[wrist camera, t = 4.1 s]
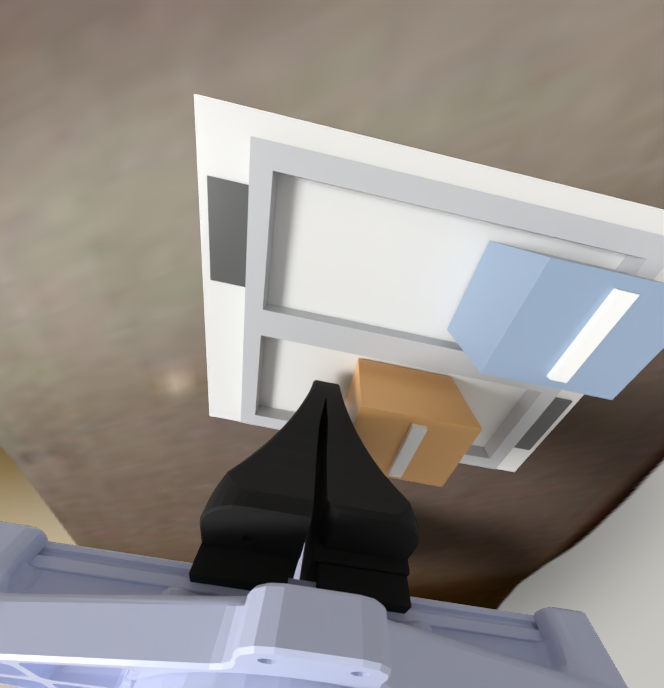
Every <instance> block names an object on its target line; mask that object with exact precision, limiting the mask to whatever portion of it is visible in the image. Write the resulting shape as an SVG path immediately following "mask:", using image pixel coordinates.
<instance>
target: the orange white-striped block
mask: <svg viewBox="0 0 664 688" xmlns="http://www.w3.org/2000/svg"><path fill="white" fill-rule="evenodd" d="M345 406H346V409H347V411H348V414H349V416H350V419H351V421H352V423H353V425H354V427H355V429H356V431H357V433H358V435H359V437H360V439H361V441H362V442H363V444H364V446H365V447H366V449H367V451H368V452H369V454H370V455H371V457H372V458H373V460H374V461H375V462H376V464H377V465H378V466H379V468H380V469H381V471H382V472H383V473H384V475H385V476H386V477H389V478H395V479H400V480H406V481H412V482H417V483H423V484H428V485H434V486H440V487H442V486H443V485H444V483H445V482H446V480H447V479H448V478H449V476H450V475H451V473H452V472H453V470H454V469H455V468H456V466H457V465H458V463H459V462H460V460H461V459H462V458H463V456H464V455H465V453H466V452H467V451H468V449H469V448H470V446H471V445H472V443H473V442H474V441H475V439H476V438H477V436H478V435H479V433H480V432H481V431H482V428H481V426H480V424H479V422H478V421H477V419H476V417H475V416H474V414H473V412H472V411H471V409H470V407H469V406H468V404H467V402H466V401H465V399H464V397H463V395H462V394H461V392H460V390H459V389H458V387H457V385H456V384H455V382H454V380H453V379H452V377H449V376H444V375H439V374H434V373H429V372H424V371H419V370H414V369H409V368H404V367H399V366H394V365H389V364H384V363H379V362H374V361H370V360H365V359H360V358H358V360H357V364H356V367H355V370H354V374H353V377H352V380H351V384H350V387H349V390H348V394H347V397H346V400H345Z"/></svg>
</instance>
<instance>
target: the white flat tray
mask: <svg viewBox="0 0 664 688" xmlns="http://www.w3.org/2000/svg"><path fill="white" fill-rule="evenodd" d="M194 106H195V127H196V147H197V168H198V188H199V209H200V229H201V250H202V270H203V291H204V312H205V332H206V353H207V373H208V394H209V414H210V416H214V417H219V418H225V419H230V420H235V421H241V423H247V424H252V425H258V426H263V427H268V428H274V429H279V430H280V429H281V428H282V427H283V426H284V425H285V424H286V423H287V422H288V421H289V420H290V418H291V417H292V416H293V415H294V413H295V412H296V411H297V409H298V408H299V407H300V405H301V404H302V402H303V401H304V399H305V398H306V396H307V395H308V393H309V391H310V389H311V387H312V384H313V381H315V380H319V381H324V382H329V383H335V384H338V385H339V386H340V390H341V394H342V397H343V400H344V403H345V400H346V397H347V394H348V390H349V387H350V384H351V380H352V377H353V374H354V370H355V367H356V364H357V360H358V358H360V359H365V360H370V361H374V362H379V363H384V364H389V365H394V366H399V367H404V368H409V369H414V370H419V371H424V372H429V373H434V374H439V375H444V376H449V377H452V379H453V380H454V382H455V384H456V385H457V387H458V389H459V390H460V392H461V394H462V395H463V397H464V399H465V401H466V402H467V404H468V406H469V407H470V409H471V411H472V412H473V414H474V416H475V417H476V419H477V421H478V422H479V424H480V426H481V428H482V431H481V432H480V433H479V435H478V436H477V438H476V439H475V441H474V442H473V443H472V445H471V446H470V448H469V449H468V451H467V452H466V453H465V455H464V456H463V458H462V459H461V460H460V462H459V463H464V464H469V465H474V466H480V467H485V468H491V469H501V470H506V471H512V472H515V471H516V470H517V469H518V468H519V466H520V465H521V464H522V463H523V462H524V461H525V460H526V459H527V458H528V456H529V455H530V454H531V453H532V452H533V451H534V450H535V449H536V448H537V446H538V445H539V444H540V443H541V442H542V441H543V440H544V439H545V438H546V436H547V435H548V434H549V433H550V432H551V431H552V430H553V429H554V427H555V426H556V425H557V424H558V423H559V422H560V421H561V420H562V419H563V417H564V416H565V415H566V414H567V413H568V412H569V411H570V410H571V409H572V407H573V406H574V405H575V404H576V403H577V402H578V401H579V400H580V399H581V397H582V396H583V395H584V394H580V393H575V392H570V391H565V390H561V389H556V388H551V387H546V386H541V385H536V384H531V383H526V382H521V381H516V380H512V379H507V378H502V377H497V376H492V375H487V374H482V373H480V372H479V370H478V369H477V368H476V366H475V365H474V364H473V363H472V361H471V360H470V359H469V357H468V356H467V355H466V354H465V352H464V351H463V350H462V348H461V347H460V346H459V345H458V343H457V342H456V341H455V339H454V338H453V337H452V336H451V334H450V333H449V332H448V330H447V329H448V326H449V324H450V322H451V320H452V318H453V316H454V314H455V312H456V310H457V308H458V305H459V303H460V301H461V299H462V297H463V295H464V293H465V291H466V289H467V286H468V284H469V282H470V280H471V278H472V276H473V274H474V272H475V270H476V268H477V265H478V263H479V261H480V259H481V257H482V255H483V253H484V251H485V249H486V246H487V244H488V242H489V241H493V242H497V243H501V244H506V245H510V246H514V247H518V248H523V249H527V250H531V251H536V252H540V253H544V254H549V255H553V256H557V257H562V258H566V259H570V260H575V261H579V262H583V263H587V264H592V265H596V266H600V267H605V268H609V269H613V270H617V271H621V272H625V273H628V274H632V275H636V276H640V277H644V278H648V279H652V280H656V281H660V282H664V210H663V209H659V208H655V207H651V206H647V205H643V204H639V203H635V202H631V201H627V200H622V199H618V198H614V197H610V196H606V195H602V194H598V193H594V192H590V191H586V190H582V189H578V188H574V187H570V186H566V185H562V184H558V183H554V182H550V181H546V180H542V179H538V178H533V177H529V176H525V175H521V174H517V173H513V172H509V171H505V170H501V169H497V168H493V167H489V166H485V165H481V164H477V163H473V162H469V161H465V160H461V159H457V158H453V157H449V156H444V155H440V154H436V153H432V152H428V151H424V150H420V149H416V148H412V147H408V146H404V145H400V144H396V143H392V142H388V141H384V140H380V139H376V138H372V137H368V136H364V135H360V134H355V133H351V132H347V131H343V130H339V129H335V128H331V127H327V126H323V125H319V124H315V123H311V122H307V121H303V120H299V119H295V118H291V117H287V116H283V115H279V114H275V113H271V112H266V111H262V110H258V109H254V108H250V107H246V106H242V105H238V104H234V103H230V102H226V101H222V100H218V99H214V98H210V97H206V96H202V95H198V94H194Z"/></svg>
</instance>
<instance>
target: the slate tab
mask: <svg viewBox="0 0 664 688" xmlns="http://www.w3.org/2000/svg"><path fill="white" fill-rule="evenodd" d="M447 330H448V332H449V333H450V334H451V336H452V337H453V338H454V339H455V341H456V342H457V343H458V345H459V346H460V347H461V348H462V350H463V351H464V352H465V354H466V355H467V356H468V357H469V359H470V360H471V361H472V363H473V364H474V365H475V366H476V368H477V369H478V370H479V372H480V373H482V374H487V375H492V376H497V377H502V378H507V379H512V380H516V381H521V382H526V383H531V384H536V385H541V386H546V387H551V388H556V389H561V390H565V391H570V392H575V393H580V394H585V395H590V396H595V397H600V398H605V399H610V400H613V399H614V398H615V397H616V396H617V395H618V394H619V393H620V392H621V391H622V390H623V388H624V387H625V386H626V385H627V384H628V383H629V382H630V381H631V380H632V379H633V378H634V377H635V376H636V375H637V374H638V373H639V372H640V371H641V370H642V369H643V368H644V367H645V366H646V365H647V364H648V363H649V362H650V361H651V360H652V359H653V358H654V357H655V356H656V355H657V354H658V353H659V352H660V351H661V350H662V349H663V348H664V282H660V281H656V280H652V279H648V278H644V277H640V276H636V275H632V274H628V273H625V272H621V271H617V270H613V269H609V268H605V267H600V266H596V265H592V264H587V263H583V262H579V261H575V260H570V259H566V258H562V257H557V256H553V255H549V254H544V253H540V252H536V251H531V250H527V249H523V248H518V247H514V246H510V245H506V244H501V243H497V242H493V241H489V242H488V244H487V246H486V249H485V251H484V253H483V255H482V257H481V259H480V261H479V263H478V265H477V268H476V270H475V272H474V274H473V276H472V278H471V280H470V282H469V284H468V286H467V289H466V291H465V293H464V295H463V297H462V299H461V301H460V303H459V305H458V308H457V310H456V312H455V314H454V316H453V318H452V320H451V322H450V324H449V326H448V329H447Z"/></svg>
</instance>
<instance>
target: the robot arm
mask: <svg viewBox="0 0 664 688" xmlns="http://www.w3.org/2000/svg"><path fill="white" fill-rule="evenodd" d="M200 530H201V539H202V543H201V546H200V548H199V550H198V553H197V555H196V557H195V560H194V562H193V563H187V562H181V561H174V560H167V559H161V558H154V557H148V556H141V555H135V554H128V553H122V552H115V551H109V550H102V549H96V548H89V547H83V546H76V545H70V544H63V543H56V542H50V541H48V538H47V536H46V534H45V533H44V532H43V531H42V530H40V529H38V528H36V527H32V526H28V525H21V524H15V523H8V522H2V521H0V684H3V685H9V686H15V687H21V688H628V687H627V685H626V684H625V682H624V680H623V678H622V677H621V675H620V673H619V671H618V670H617V668H616V667H615V664H614V663H613V661H612V659H611V658H610V656H609V654H608V652H607V651H606V649H605V648H604V645H603V644H602V642H601V640H600V639H599V637H598V635H597V633H596V632H595V630H594V628H593V626H592V625H591V623H590V621H589V619H588V618H587V616H586V614H585V613H583V612H581V611H574V610H568V609H562V608H554V607H548V608H543V609H541V610H539V611H537V612H536V613H535V614H534V616H533V615H527V614H520V613H514V612H507V611H500V610H494V609H487V608H481V607H474V606H468V605H461V604H455V603H448V602H442V601H435V600H429V599H422V598H416V597H410V594H409V587H408V581H407V576H408V575H409V566H408V560H407V559H408V558H409V556H410V555H411V554H412V552H413V551H414V550H415V549H416V547H417V546H418V544H419V541H420V536H419V531H418V526H417V522H416V519H415V516H414V513H413V510H412V507H411V504H410V502H409V501H408V500H407V499H406V498H405V497H404V496H403V495H402V494H401V493H400V492H399V491H398V490H397V489H396V487H395V486H394V485H393V484H392V483H391V482H390V481H389V479H388V478H387V477H386V476H385V475H384V473H383V472H382V471H381V469H380V468H379V466H378V465H377V464H376V462H375V461H374V460H373V458H372V457H371V455H370V454H369V452H368V451H367V449H366V447H365V446H364V444H363V442H362V441H361V439H360V437H359V435H358V433H357V431H356V429H355V427H354V425H353V423H352V421H351V419H350V416H349V414H348V411H347V409H346V406H345V403H344V400H343V397H342V394H341V390H340V386H339V385H338V384H335V383H329V382H324V381H319V380H315V381H313V384H312V387H311V389H310V391H309V393H308V395H307V396H306V398H305V399H304V401H303V402H302V404H301V405H300V407H299V408H298V409H297V411H296V412H295V413H294V415H293V416H292V417H291V418H290V420H289V421H288V422H287V423H286V424H285V425H284V426H283V427H282V428H281V429H280V431H279V432H277V433H276V434H275V435H274V436H273V437H272V438H271V439H270V440H269V441H268V442H267V443H266V444H265V445H263V446H262V447H261V448H260V449H258V450H257V451H256V452H255V453H254V454H252V455H251V456H250V457H248V458H247V459H246V460H244V461H243V462H241V463H240V464H238V465H237V466H235V467H234V468H233V469H231V470H230V471H228V472H227V473H226V475H225V476H224V477H223V479H222V480H221V481H220V483H219V484H218V486H217V487H216V488H215V490H214V492H213V493H212V495H211V497H210V498H209V500H208V502H207V504H206V507H205V509H204V511H203V513H202V515H201V517H200Z"/></svg>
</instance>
